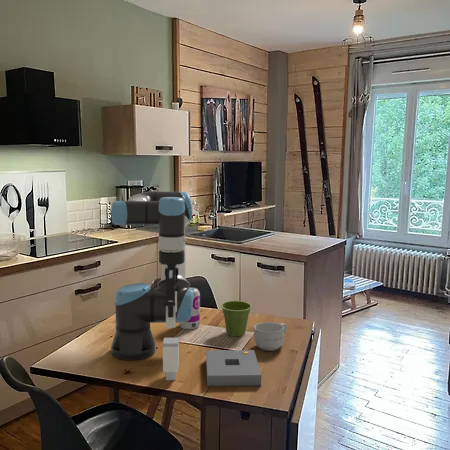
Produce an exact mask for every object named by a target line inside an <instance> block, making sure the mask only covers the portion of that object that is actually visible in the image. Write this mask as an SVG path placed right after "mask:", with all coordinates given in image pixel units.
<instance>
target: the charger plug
mask: <svg viewBox="0 0 450 450" xmlns="http://www.w3.org/2000/svg"><path fill="white" fill-rule="evenodd" d="M179 338H180V337H164V338H163V341H162V373H165V381H176V380H177V379H176V378H177V373H178V372H179V367H180V366H179V365H180V363H179V359H180V358H179V356H180V355H179V352H180V351H179V350H180V349H179V346H180V345H179V342H180V339H179Z"/></svg>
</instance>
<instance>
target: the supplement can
mask: <svg viewBox="0 0 450 450" xmlns="http://www.w3.org/2000/svg"><path fill="white" fill-rule="evenodd" d="M193 288H194V297H193V306H192V314H191V318H190V320H189V321H187V322H178V325H179V327H180V328H181V329H183V330H194V329H197V328H198V327H200V317H201V315H200V314H201V311H200V310H201V293H200V291H199V289H198V288H196V287H193Z"/></svg>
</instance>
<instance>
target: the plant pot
mask: <svg viewBox="0 0 450 450" xmlns="http://www.w3.org/2000/svg"><path fill="white" fill-rule="evenodd" d="M220 307H221V308H222V313H223V317H224V318H223V319H224V325H225V330H226V334H227V335H229V336H232V337H242V336H244V335H245V334H246V330H247V325H248V319H249V315H250V312H251V309H252V307H253V305H252V304H251V303H250V302H247V301H243V300H228V301H225V302H222V303H221V304H220Z"/></svg>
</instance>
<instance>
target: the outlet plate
mask: <svg viewBox="0 0 450 450" xmlns="http://www.w3.org/2000/svg"><path fill="white" fill-rule="evenodd" d="M205 366H206V367H205V368H206V384H207V385H206V387H207V388H215V387H216V388H220V387H224V388H225V387H226V388H227V387H229V388H230V387H237V388H238V387H262V373H261V369H260V366H259V361H258V359H257V356H256V351H255V350H254V349H249V350H247V349H244V350H243V349H241V350H239V349H235V350H234V349H233V350H232V349H231V350H230V349H229V350H219V349H218V350H205Z"/></svg>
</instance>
